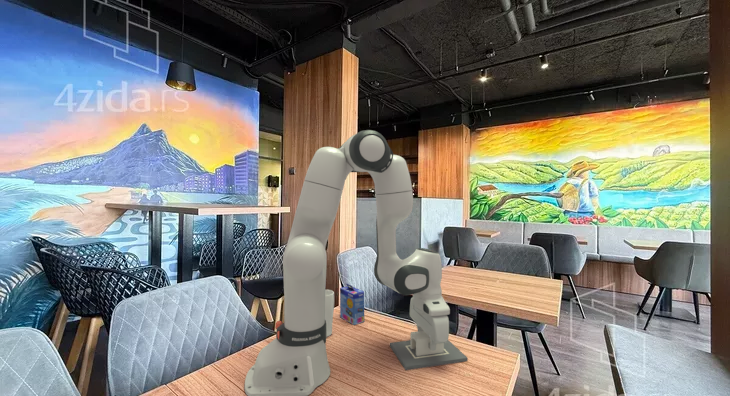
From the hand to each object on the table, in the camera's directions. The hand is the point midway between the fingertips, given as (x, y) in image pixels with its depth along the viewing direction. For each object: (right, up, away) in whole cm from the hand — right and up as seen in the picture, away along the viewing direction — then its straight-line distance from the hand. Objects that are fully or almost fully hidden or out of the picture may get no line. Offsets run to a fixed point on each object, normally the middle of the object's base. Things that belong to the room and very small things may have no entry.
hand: (426, 343), depth 93 cm
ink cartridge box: (-25, -3, +25) cm, 35 cm away
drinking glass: (-34, -3, +12) cm, 36 cm away
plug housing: (0, -2, 0) cm, 2 cm away
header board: (0, -3, 0) cm, 3 cm away
